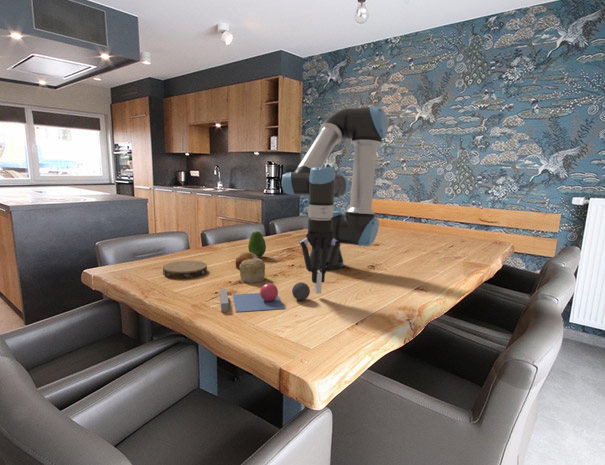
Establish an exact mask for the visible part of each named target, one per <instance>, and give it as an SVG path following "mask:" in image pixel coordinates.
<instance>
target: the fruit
mask: <svg viewBox="0 0 605 465" xmlns="http://www.w3.org/2000/svg"><path fill="white" fill-rule="evenodd" d="M266 244H267V243H266V240H265V238H264V235H263V234H262V232H260V231H258V230H257V231H253V232H251V234H250V236H249V240H248V244H247V245H248V246H247V247H248V252H250V253H253V254H255V255H256V256H257V257H258V258H261V257H263V256H264V254H265V253H266V249H267V245H266Z"/></svg>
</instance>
